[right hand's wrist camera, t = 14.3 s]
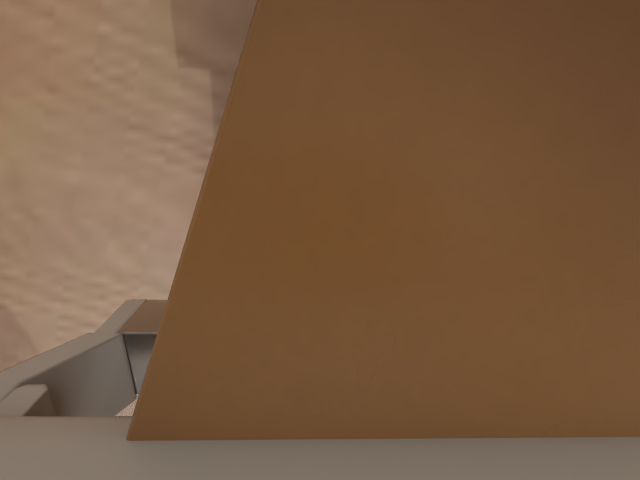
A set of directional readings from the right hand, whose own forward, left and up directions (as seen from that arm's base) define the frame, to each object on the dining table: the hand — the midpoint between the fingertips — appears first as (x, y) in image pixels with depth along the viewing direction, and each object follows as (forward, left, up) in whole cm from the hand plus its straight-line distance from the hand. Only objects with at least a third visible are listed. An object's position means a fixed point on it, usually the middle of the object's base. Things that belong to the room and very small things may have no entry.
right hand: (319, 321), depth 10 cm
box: (+3, +7, -4) cm, 9 cm away
